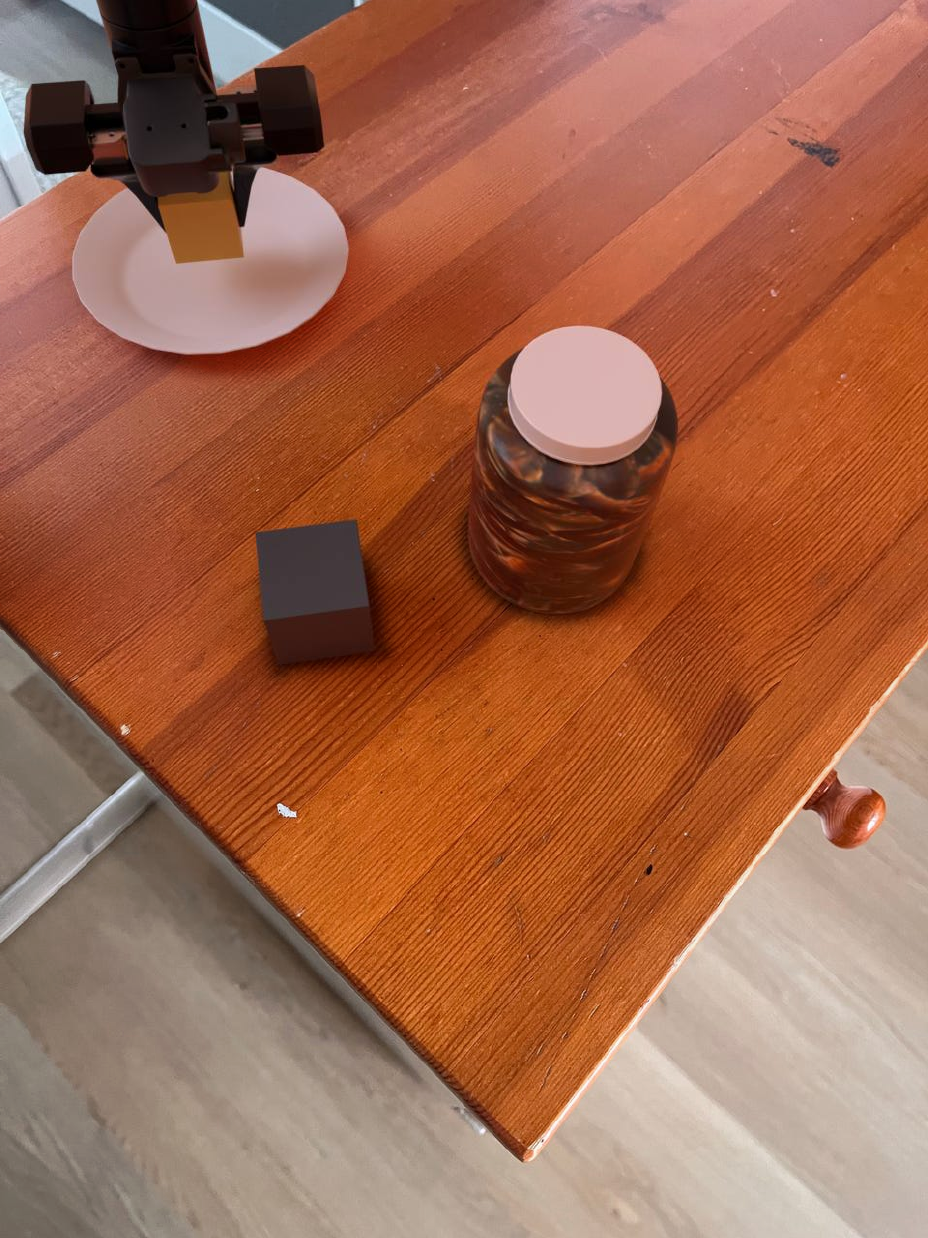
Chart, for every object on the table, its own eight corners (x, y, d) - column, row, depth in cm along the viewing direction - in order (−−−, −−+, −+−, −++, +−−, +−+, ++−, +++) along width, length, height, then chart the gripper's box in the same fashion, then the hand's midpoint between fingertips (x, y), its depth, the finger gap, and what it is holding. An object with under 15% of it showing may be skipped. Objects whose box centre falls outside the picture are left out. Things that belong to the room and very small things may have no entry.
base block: (278, 665, 56) (263, 620, 50) (270, 582, 58) (255, 531, 53) (375, 651, 56) (369, 605, 51) (362, 570, 59) (356, 518, 54)
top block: (175, 264, 67) (158, 205, 62) (173, 218, 69) (156, 158, 64) (244, 257, 67) (231, 198, 63) (239, 212, 69) (226, 152, 65)
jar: (673, 563, 60) (742, 415, 47) (529, 644, 57) (560, 510, 44) (571, 442, 65) (609, 275, 51) (432, 511, 61) (434, 352, 48)
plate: (170, 420, 64) (162, 398, 62) (34, 254, 71) (23, 230, 69) (403, 294, 71) (402, 271, 69) (257, 154, 78) (252, 130, 76)
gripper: (-26, 97, 49) (74, 317, 62) (320, 73, 51) (342, 291, 65) (-14, -17, 54) (76, 210, 67) (301, -35, 56) (325, 188, 70)
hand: (205, 226), depth 67 cm, fingers closed on top block, 5 cm apart
